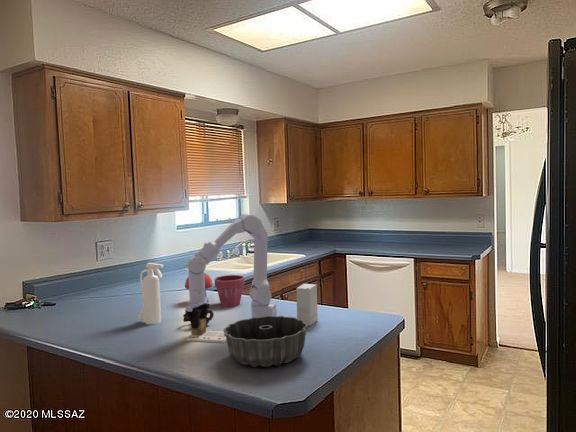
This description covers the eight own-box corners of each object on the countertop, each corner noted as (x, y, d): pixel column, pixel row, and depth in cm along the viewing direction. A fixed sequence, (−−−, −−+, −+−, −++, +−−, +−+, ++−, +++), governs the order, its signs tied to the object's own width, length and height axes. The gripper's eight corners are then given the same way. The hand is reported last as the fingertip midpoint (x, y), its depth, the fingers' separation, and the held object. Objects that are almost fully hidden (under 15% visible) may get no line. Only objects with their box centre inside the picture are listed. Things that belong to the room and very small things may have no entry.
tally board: (234, 333, 167) (234, 331, 167) (224, 342, 157) (224, 340, 157) (197, 332, 170) (197, 329, 170) (185, 340, 161) (185, 338, 161)
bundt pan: (207, 359, 141) (206, 328, 141) (269, 338, 160) (268, 311, 159) (263, 382, 122) (261, 346, 122) (326, 355, 141) (324, 324, 140)
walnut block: (206, 331, 167) (205, 318, 167) (201, 335, 163) (200, 321, 163) (196, 331, 168) (195, 318, 168) (191, 334, 164) (190, 321, 164)
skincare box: (304, 319, 183) (303, 283, 182) (318, 320, 180) (317, 283, 179) (296, 325, 175) (295, 287, 174) (311, 326, 172) (309, 288, 172)
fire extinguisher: (143, 318, 192) (141, 261, 190) (168, 320, 189) (166, 262, 187) (133, 323, 186) (131, 263, 184) (159, 326, 182) (156, 265, 180)
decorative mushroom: (180, 305, 215) (178, 274, 215) (194, 298, 228) (193, 269, 227) (204, 306, 211) (203, 274, 210) (218, 299, 224) (216, 269, 223)
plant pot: (237, 308, 204) (236, 280, 204) (210, 307, 209) (208, 280, 208) (250, 301, 218) (249, 275, 217) (224, 300, 222) (223, 274, 222)
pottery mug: (189, 333, 172) (181, 313, 174) (188, 337, 180) (180, 318, 182) (218, 320, 176) (210, 301, 179) (215, 325, 185) (208, 307, 187)
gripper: (195, 285, 173) (197, 320, 174) (177, 293, 159) (179, 331, 160) (212, 285, 171) (214, 320, 172) (195, 293, 157) (197, 332, 158)
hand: (198, 325), depth 166 cm, fingers open, 5 cm apart
